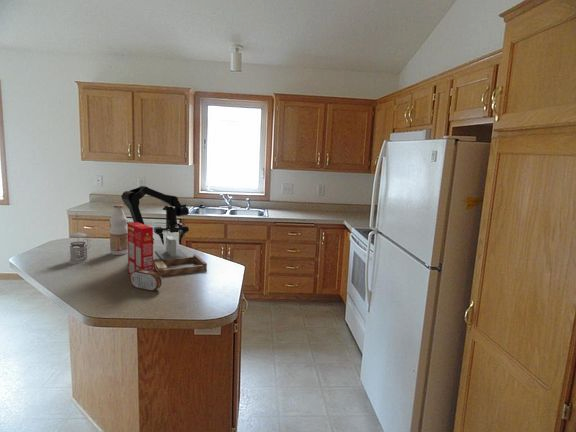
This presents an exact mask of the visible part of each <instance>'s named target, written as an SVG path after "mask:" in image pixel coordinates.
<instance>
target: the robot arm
mask: <svg viewBox="0 0 576 432" xmlns="http://www.w3.org/2000/svg"><path fill="white" fill-rule="evenodd" d="M145 195H146V196H149V197H150V198H151V197H152V198H154V199H156V200H159V201H160V202H161V203H163V204H164V205H165V206H164V207H162V210H163V211H165V227H162V226H154V227H153V234H156V235H158V237H159V239H160V242H161V244H162V245H163V246H164V245H165V244H164V243H165V241H164V240H165V239H164V232H169V233H170V234H173V233H178V244H181V242H182V238H183V237H184V235H185V234H186V233H187V232H189V230H190V229H189V226H187V225H183V223H180V222H179V223H178V218H177V217H183V216H188V215H189V213H190V210H189V207H188V206H187V204H186V203H184V204H183V203H182V204H181V202H180V201H179V197H178V196H175V195H170V194H165V193H162V192H159V191H157V190H154V189H152V188H150V187H148V186H145V185H140V186H139V187H136V188H132V189H129V190H126V191H123V193H121V200H122V202H123V204H124V205H125V206H126V207H127V209H128V210H129V213H130V216H131V218H132V221H133V222H132V223H135V222H139V223H142V224H145V221H144V219H143V217H142V213H141V210H140V207H139V206H140V200H141V199H143V197H144V196H145ZM154 241H155V238H154V237H153V245H154V243H155V242H154Z"/></svg>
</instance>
